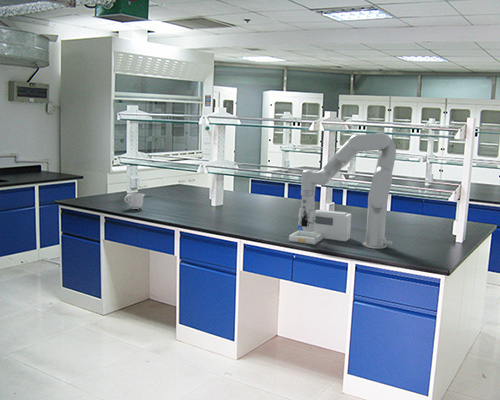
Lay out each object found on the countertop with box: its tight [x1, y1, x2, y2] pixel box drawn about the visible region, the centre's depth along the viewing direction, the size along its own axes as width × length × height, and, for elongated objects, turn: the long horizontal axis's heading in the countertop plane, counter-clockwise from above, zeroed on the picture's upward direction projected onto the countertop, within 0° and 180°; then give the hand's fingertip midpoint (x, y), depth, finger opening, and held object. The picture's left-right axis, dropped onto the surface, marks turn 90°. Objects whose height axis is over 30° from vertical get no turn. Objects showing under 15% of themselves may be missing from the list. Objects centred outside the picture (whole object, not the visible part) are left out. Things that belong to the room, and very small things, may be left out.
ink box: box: [297, 208, 317, 232], centre depth 285 cm, size 9×5×12 cm, turn 45°
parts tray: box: [288, 230, 324, 245], centre depth 286 cm, size 15×14×3 cm
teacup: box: [124, 192, 145, 210], centre depth 358 cm, size 12×15×10 cm
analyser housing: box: [312, 209, 352, 242], centre depth 292 cm, size 20×9×15 cm, turn 64°
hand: (306, 224), depth 285 cm, fingers closed on ink box, 6 cm apart
